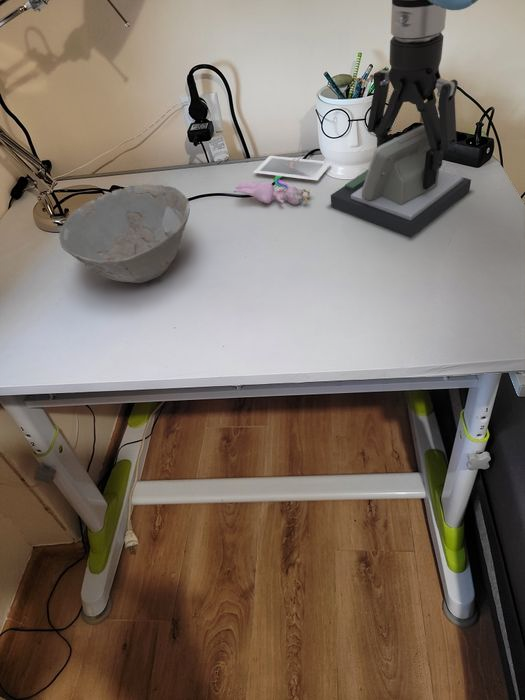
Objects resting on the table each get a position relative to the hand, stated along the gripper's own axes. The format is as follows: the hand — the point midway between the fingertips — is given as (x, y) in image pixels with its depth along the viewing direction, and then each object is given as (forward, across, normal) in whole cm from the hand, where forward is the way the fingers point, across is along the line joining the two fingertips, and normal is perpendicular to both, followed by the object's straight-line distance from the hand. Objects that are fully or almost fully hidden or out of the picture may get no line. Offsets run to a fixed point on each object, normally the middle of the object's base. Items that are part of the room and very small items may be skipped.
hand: (406, 178), depth 90 cm
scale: (+5, -2, +1) cm, 6 cm away
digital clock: (+2, -1, 0) cm, 2 cm away
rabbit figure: (+5, -22, -13) cm, 26 cm away
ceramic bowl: (+5, -26, -42) cm, 50 cm away
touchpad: (+5, -27, -2) cm, 28 cm away
